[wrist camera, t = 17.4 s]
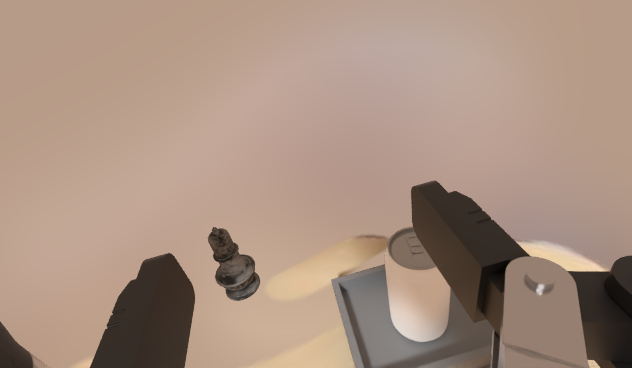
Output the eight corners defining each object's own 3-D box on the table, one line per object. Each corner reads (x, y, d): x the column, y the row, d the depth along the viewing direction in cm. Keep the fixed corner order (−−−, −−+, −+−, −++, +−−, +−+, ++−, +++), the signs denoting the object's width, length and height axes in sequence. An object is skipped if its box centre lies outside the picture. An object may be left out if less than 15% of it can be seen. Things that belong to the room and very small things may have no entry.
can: (395, 346, 36) (388, 276, 29) (386, 296, 41) (378, 227, 34) (456, 341, 35) (462, 269, 28) (439, 291, 40) (441, 220, 33)
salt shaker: (255, 264, 52) (230, 206, 45) (266, 289, 47) (240, 230, 40) (220, 281, 50) (188, 224, 43) (228, 309, 45) (194, 251, 39)
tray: (366, 406, 32) (363, 392, 31) (334, 293, 44) (331, 279, 42) (532, 355, 33) (538, 339, 32) (458, 258, 45) (459, 242, 43)
